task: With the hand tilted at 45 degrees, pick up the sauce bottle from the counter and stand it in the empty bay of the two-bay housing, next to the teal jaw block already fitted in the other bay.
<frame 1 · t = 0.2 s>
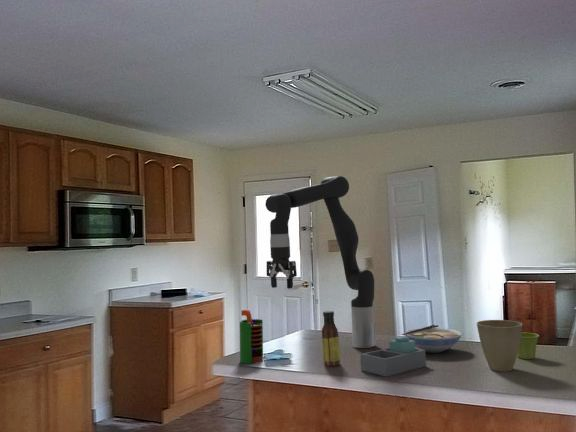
hand: (281, 287, 212), 29 cm above the counter, tool pointing down, fingers open, 8 cm apart
plant pot 2: (526, 358, 207), on the counter
sauce bottle: (331, 365, 206), on the counter
ramen bowl: (433, 351, 224), on the counter
plant pot: (501, 369, 191), on the counter
housing: (393, 368, 198), on the counter
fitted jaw: (403, 365, 201), resting on housing
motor: (251, 361, 217), on the counter
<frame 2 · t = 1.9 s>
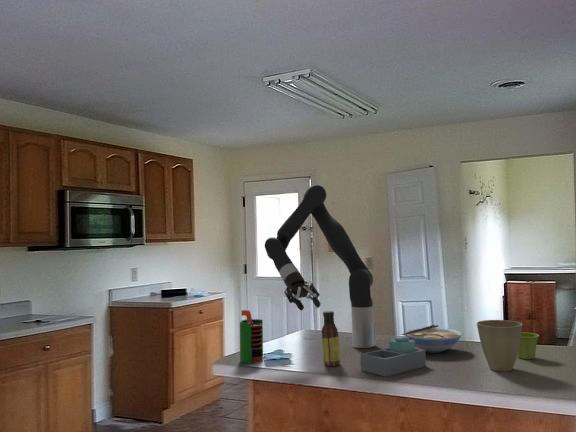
hand: (310, 307, 216), 20 cm above the counter, tool tilted 45°, fingers open, 8 cm apart
nothing on the counter moved.
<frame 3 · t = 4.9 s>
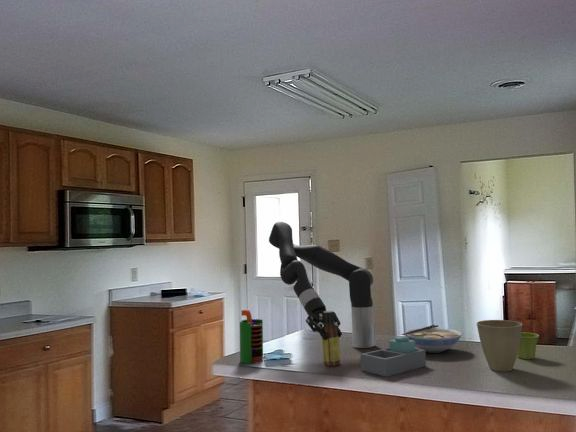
hand: (333, 337, 205), 10 cm above the counter, tool tilted 45°, fingers closed on sauce bottle, 6 cm apart
sauce bottle: (331, 365, 206), on the counter, touching gripper
everything else where it was.
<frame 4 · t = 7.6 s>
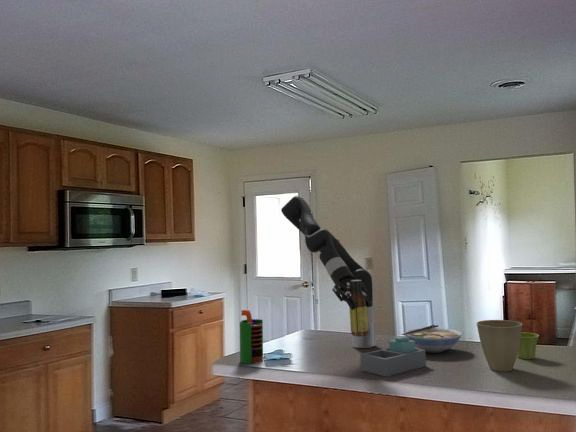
hand: (361, 307, 197), 22 cm above the counter, tool tilted 45°, fingers closed on sauce bottle, 6 cm apart
sauce bottle: (359, 335, 198), point 12 cm above the counter, touching gripper
everything else where it was.
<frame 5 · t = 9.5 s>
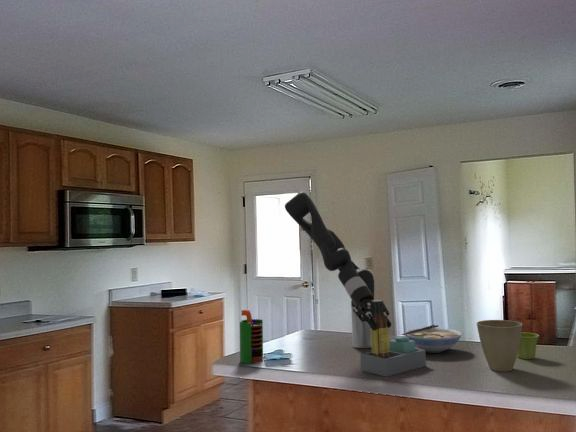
hand: (382, 327, 193), 15 cm above the counter, tool tilted 45°, fingers closed on sauce bottle, 6 cm apart
sauce bottle: (380, 357, 195), point 5 cm above the counter, touching gripper
everything else where it was.
when the fingers open (12 cm above the counter, at t = 10.7 s): sauce bottle stays where it is, resting on housing.
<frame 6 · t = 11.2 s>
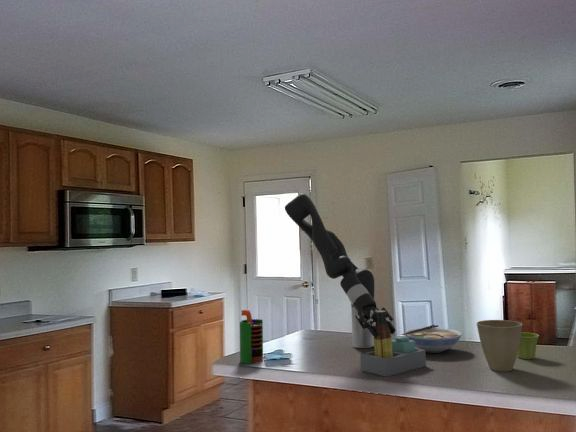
hand: (385, 334, 194), 13 cm above the counter, tool tilted 45°, fingers open, 8 cm apart
sauce bottle: (384, 367, 195), point 1 cm above the counter, touching housing
everything else where it was.
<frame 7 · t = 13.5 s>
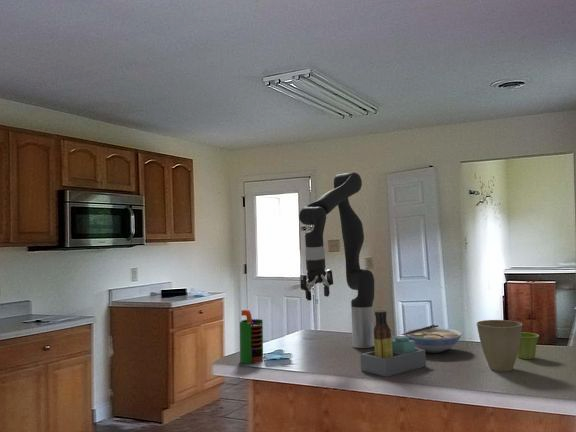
hand: (317, 298, 217), 24 cm above the counter, tool pointing down, fingers open, 8 cm apart
nothing on the counter moved.
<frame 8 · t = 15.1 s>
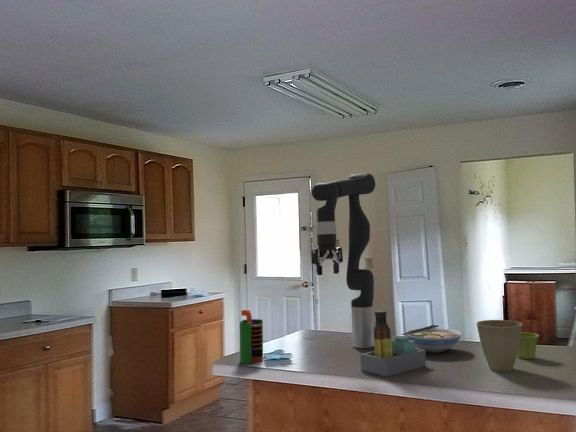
hand: (328, 274, 217), 33 cm above the counter, tool pointing down, fingers open, 8 cm apart
nothing on the counter moved.
at the end: sauce bottle inside the target area on the housing (0.5 cm from its centre), point 0.9 cm above the housing's base; sauce bottle tilted 0°; the gripper is holding nothing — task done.
